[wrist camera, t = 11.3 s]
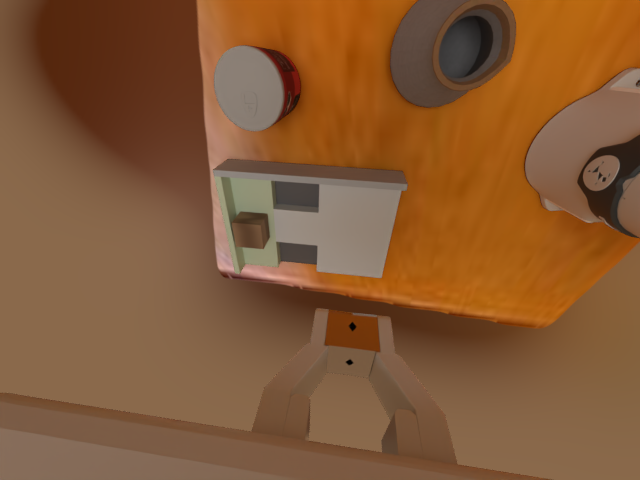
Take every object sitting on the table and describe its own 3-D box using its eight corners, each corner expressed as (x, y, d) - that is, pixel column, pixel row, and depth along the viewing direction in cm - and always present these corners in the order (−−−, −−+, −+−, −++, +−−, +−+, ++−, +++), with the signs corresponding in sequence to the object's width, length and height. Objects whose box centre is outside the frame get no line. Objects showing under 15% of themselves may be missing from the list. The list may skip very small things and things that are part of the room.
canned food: (261, 122, 39) (233, 139, 30) (239, 60, 35) (198, 59, 26) (308, 108, 37) (293, 122, 28) (291, 41, 33) (266, 33, 24)
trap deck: (402, 171, 41) (407, 184, 36) (380, 269, 53) (382, 289, 48) (227, 158, 43) (212, 169, 38) (245, 256, 55) (235, 273, 50)
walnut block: (267, 213, 45) (260, 225, 42) (269, 236, 48) (263, 249, 45) (240, 211, 46) (231, 222, 42) (244, 234, 48) (236, 246, 45)
